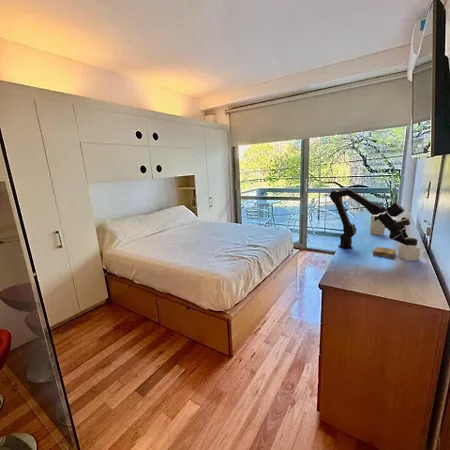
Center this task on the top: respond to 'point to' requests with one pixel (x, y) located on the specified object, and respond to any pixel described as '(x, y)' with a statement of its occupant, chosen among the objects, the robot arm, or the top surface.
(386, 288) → the top surface
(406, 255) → the medicine bottle
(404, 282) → the top surface
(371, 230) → the skincare box
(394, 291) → the top surface
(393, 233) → the robot arm
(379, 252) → the walnut block
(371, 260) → the top surface
